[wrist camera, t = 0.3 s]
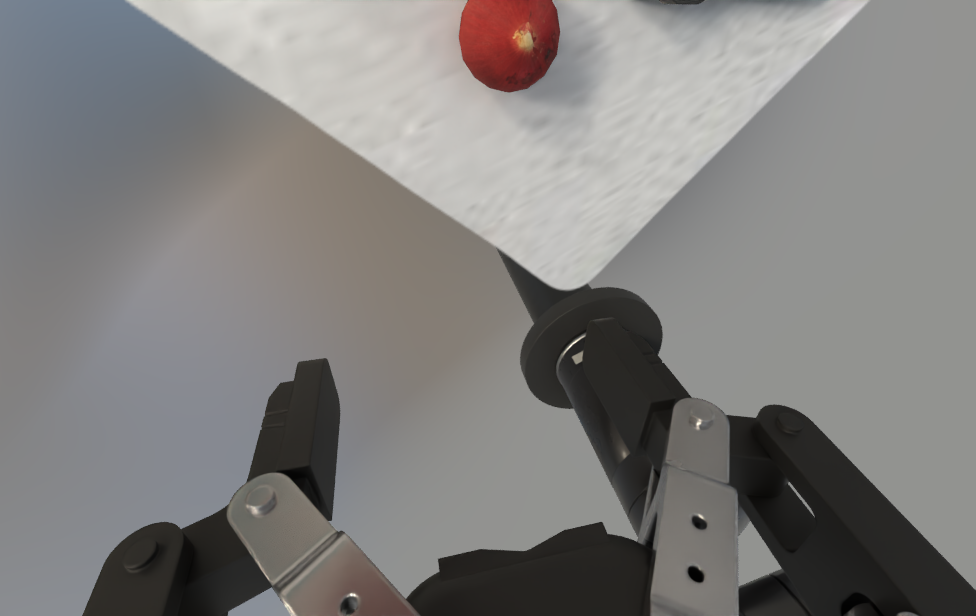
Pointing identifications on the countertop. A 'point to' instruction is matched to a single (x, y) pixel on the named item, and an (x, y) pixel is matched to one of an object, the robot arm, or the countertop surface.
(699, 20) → the countertop surface
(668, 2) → the scale
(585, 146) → the countertop surface
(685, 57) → the countertop surface
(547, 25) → the onion
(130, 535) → the robot arm
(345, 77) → the countertop surface
